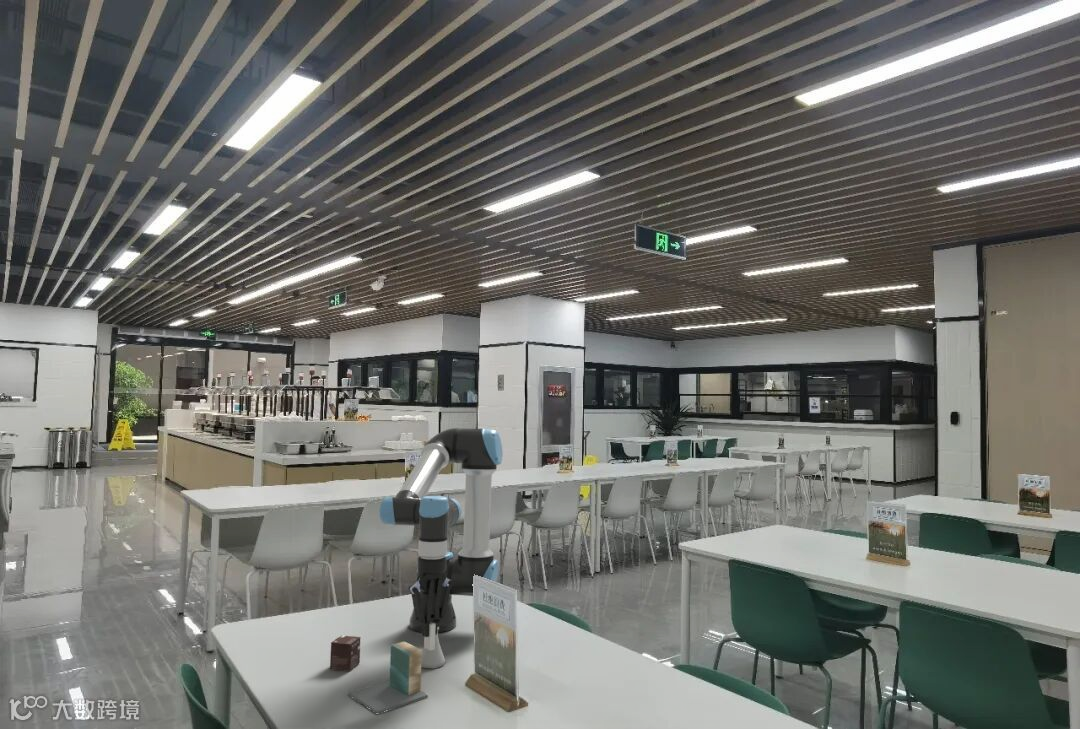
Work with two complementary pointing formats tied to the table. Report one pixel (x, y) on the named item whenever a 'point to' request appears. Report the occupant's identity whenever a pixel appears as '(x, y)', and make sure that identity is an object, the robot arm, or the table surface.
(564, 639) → the table surface
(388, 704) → the mat
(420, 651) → the slab
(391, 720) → the table surface
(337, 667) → the box
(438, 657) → the flask
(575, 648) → the table surface
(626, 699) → the table surface
